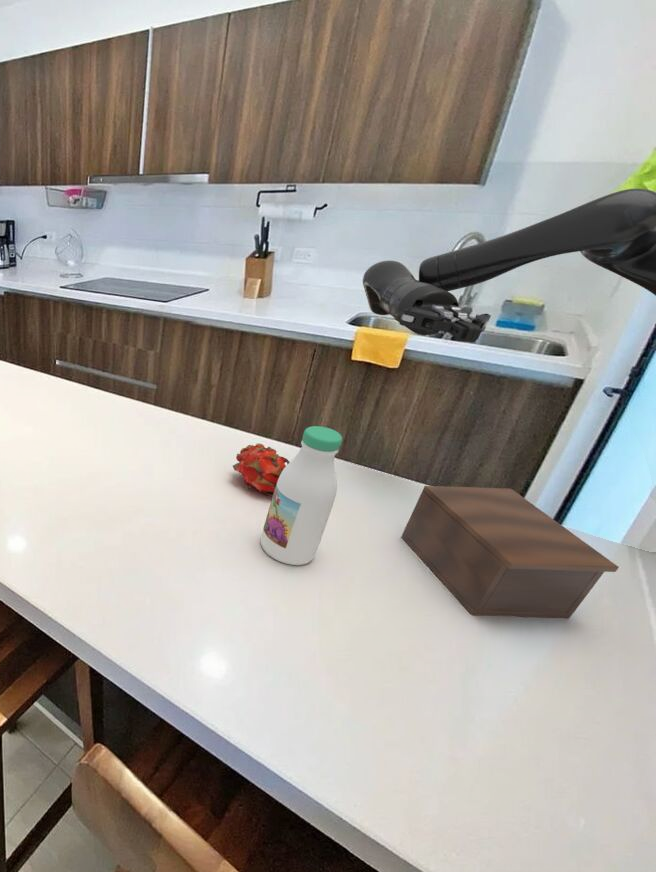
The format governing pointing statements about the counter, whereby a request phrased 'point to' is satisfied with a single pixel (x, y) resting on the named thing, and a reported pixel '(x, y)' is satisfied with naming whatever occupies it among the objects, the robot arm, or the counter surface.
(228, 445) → the counter surface
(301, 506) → the milk bottle
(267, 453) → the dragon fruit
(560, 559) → the tea lid
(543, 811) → the counter surface
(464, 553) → the tea box
